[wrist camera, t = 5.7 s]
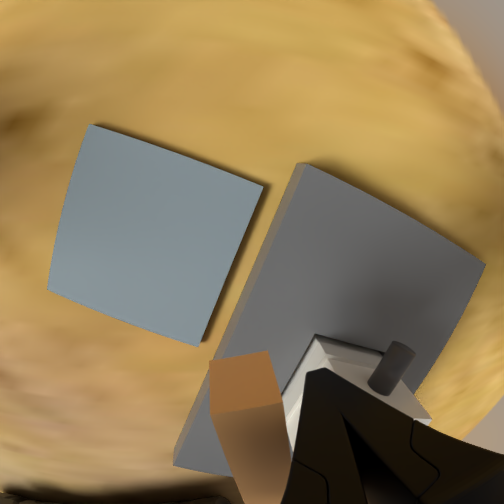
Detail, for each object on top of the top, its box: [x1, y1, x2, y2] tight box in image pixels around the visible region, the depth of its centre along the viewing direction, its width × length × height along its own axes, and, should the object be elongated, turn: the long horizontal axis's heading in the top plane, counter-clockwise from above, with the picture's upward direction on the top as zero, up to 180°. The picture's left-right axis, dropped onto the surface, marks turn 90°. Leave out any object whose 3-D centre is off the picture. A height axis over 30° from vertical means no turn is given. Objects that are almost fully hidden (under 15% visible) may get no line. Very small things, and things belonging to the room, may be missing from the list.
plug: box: [281, 333, 432, 451], centre depth 13 cm, size 5×6×6 cm
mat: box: [47, 124, 263, 347], centre depth 13 cm, size 8×8×1 cm
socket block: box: [173, 163, 486, 477], centre depth 13 cm, size 12×18×6 cm, turn 158°
